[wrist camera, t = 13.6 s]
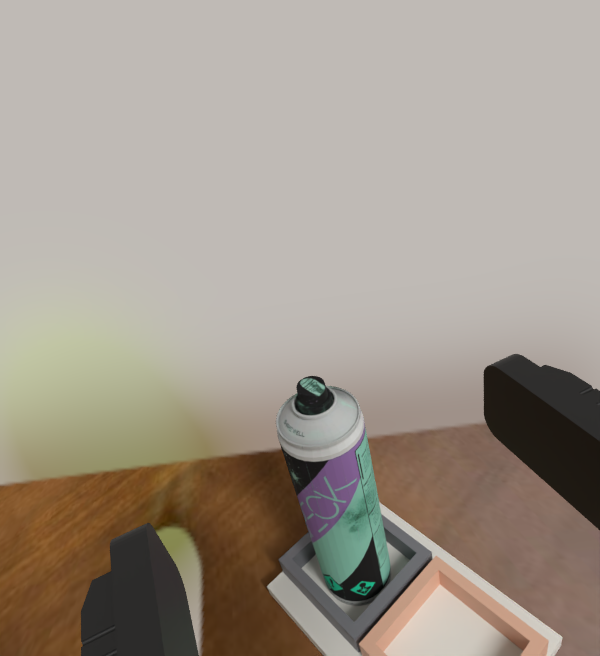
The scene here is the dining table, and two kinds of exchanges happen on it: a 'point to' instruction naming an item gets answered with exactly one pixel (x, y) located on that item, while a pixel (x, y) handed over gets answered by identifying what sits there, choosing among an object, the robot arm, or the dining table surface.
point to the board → (409, 606)
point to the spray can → (336, 488)
